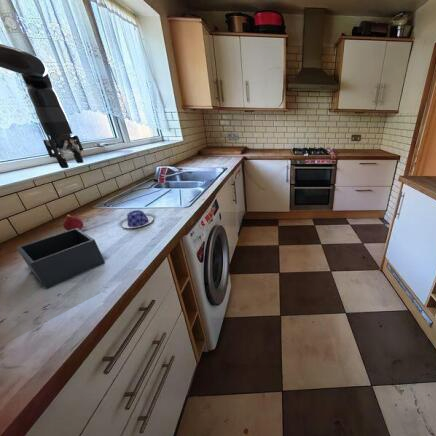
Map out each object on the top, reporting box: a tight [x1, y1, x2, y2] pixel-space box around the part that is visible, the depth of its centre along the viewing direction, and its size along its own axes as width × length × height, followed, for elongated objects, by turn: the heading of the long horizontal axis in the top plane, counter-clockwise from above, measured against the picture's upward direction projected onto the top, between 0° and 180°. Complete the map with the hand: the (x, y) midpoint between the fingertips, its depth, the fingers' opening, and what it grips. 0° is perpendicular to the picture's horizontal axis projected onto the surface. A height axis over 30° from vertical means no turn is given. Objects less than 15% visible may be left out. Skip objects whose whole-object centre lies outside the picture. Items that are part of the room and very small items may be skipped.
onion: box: [62, 214, 84, 231], centre depth 92 cm, size 6×6×8 cm
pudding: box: [121, 209, 154, 229], centre depth 100 cm, size 12×12×5 cm
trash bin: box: [16, 228, 106, 290], centre depth 72 cm, size 15×15×9 cm
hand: (73, 165), depth 89 cm, fingers open, 8 cm apart
